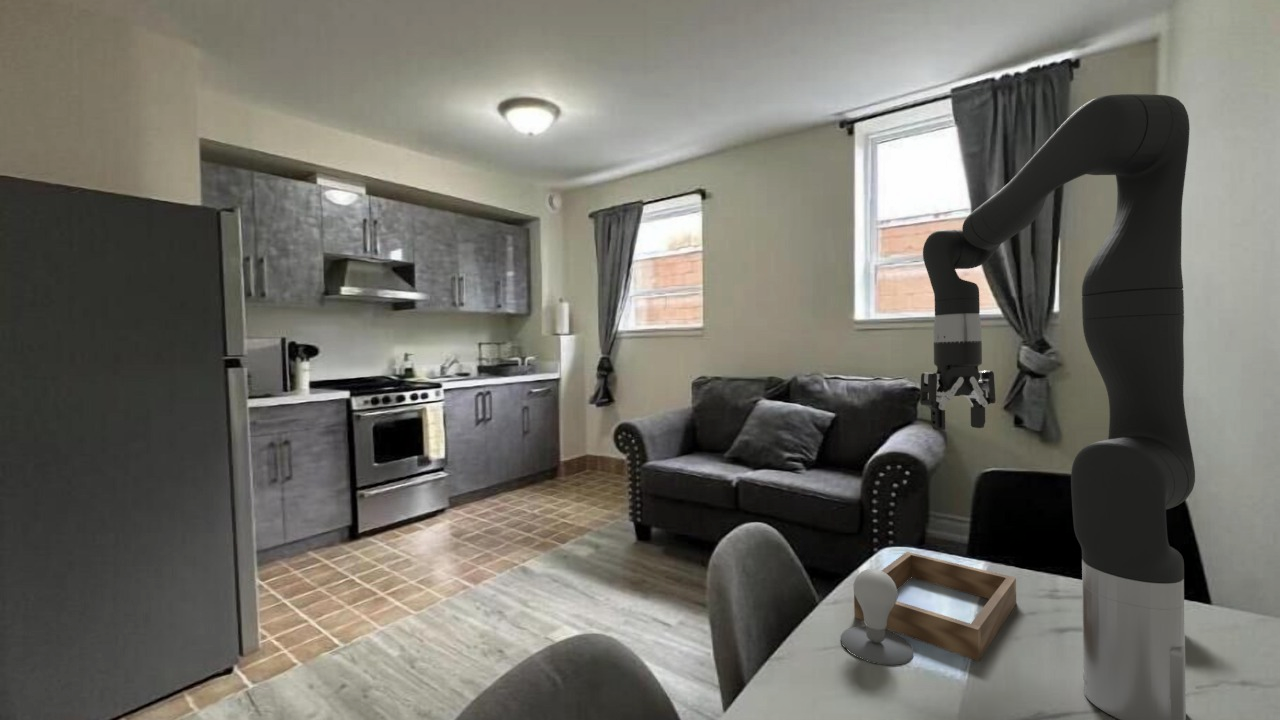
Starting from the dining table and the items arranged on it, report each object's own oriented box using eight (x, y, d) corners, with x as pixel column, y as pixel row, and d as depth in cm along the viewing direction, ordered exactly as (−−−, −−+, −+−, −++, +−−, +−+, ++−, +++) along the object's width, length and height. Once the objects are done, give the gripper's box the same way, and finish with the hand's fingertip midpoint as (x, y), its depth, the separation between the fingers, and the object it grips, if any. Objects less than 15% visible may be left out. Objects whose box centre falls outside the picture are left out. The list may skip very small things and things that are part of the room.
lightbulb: (865, 627, 84) (865, 559, 84) (905, 643, 80) (904, 571, 80) (846, 641, 81) (845, 569, 80) (886, 658, 76) (885, 583, 76)
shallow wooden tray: (1016, 603, 92) (1015, 577, 92) (978, 661, 76) (978, 629, 75) (907, 574, 105) (906, 551, 105) (854, 617, 88) (854, 591, 88)
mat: (923, 645, 80) (923, 642, 80) (898, 674, 73) (898, 671, 73) (857, 622, 87) (857, 619, 87) (829, 646, 80) (829, 643, 80)
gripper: (940, 339, 91) (942, 434, 91) (1007, 338, 94) (1008, 429, 94) (908, 341, 98) (910, 428, 98) (971, 340, 101) (972, 424, 102)
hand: (958, 428), depth 96 cm, fingers open, 8 cm apart
